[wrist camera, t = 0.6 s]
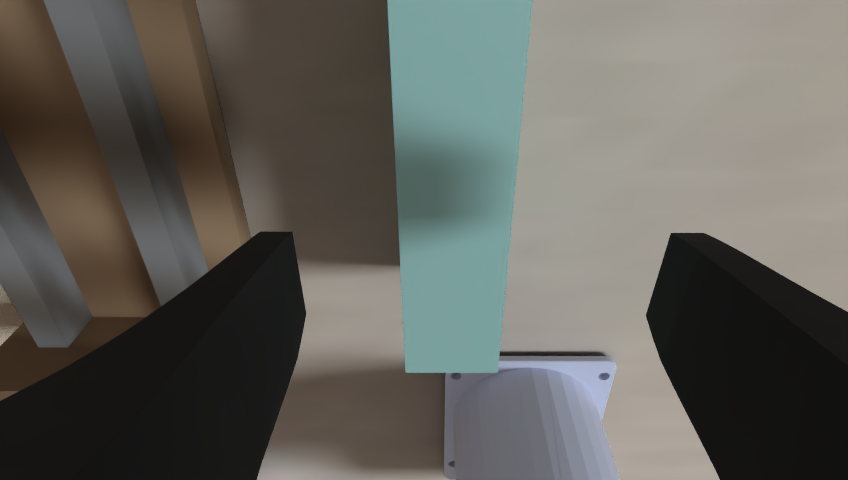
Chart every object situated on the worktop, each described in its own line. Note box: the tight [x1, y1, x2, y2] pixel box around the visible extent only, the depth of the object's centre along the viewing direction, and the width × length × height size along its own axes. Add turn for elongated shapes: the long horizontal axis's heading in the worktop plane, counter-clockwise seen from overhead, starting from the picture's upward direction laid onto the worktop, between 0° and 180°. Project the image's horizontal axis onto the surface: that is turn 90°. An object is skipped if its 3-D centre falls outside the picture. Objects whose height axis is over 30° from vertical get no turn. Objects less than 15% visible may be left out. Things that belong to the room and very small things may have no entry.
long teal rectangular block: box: [387, 0, 533, 373], centre depth 16 cm, size 12×3×6 cm, turn 1°
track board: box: [0, 0, 251, 401], centre depth 16 cm, size 19×10×5 cm, turn 1°
